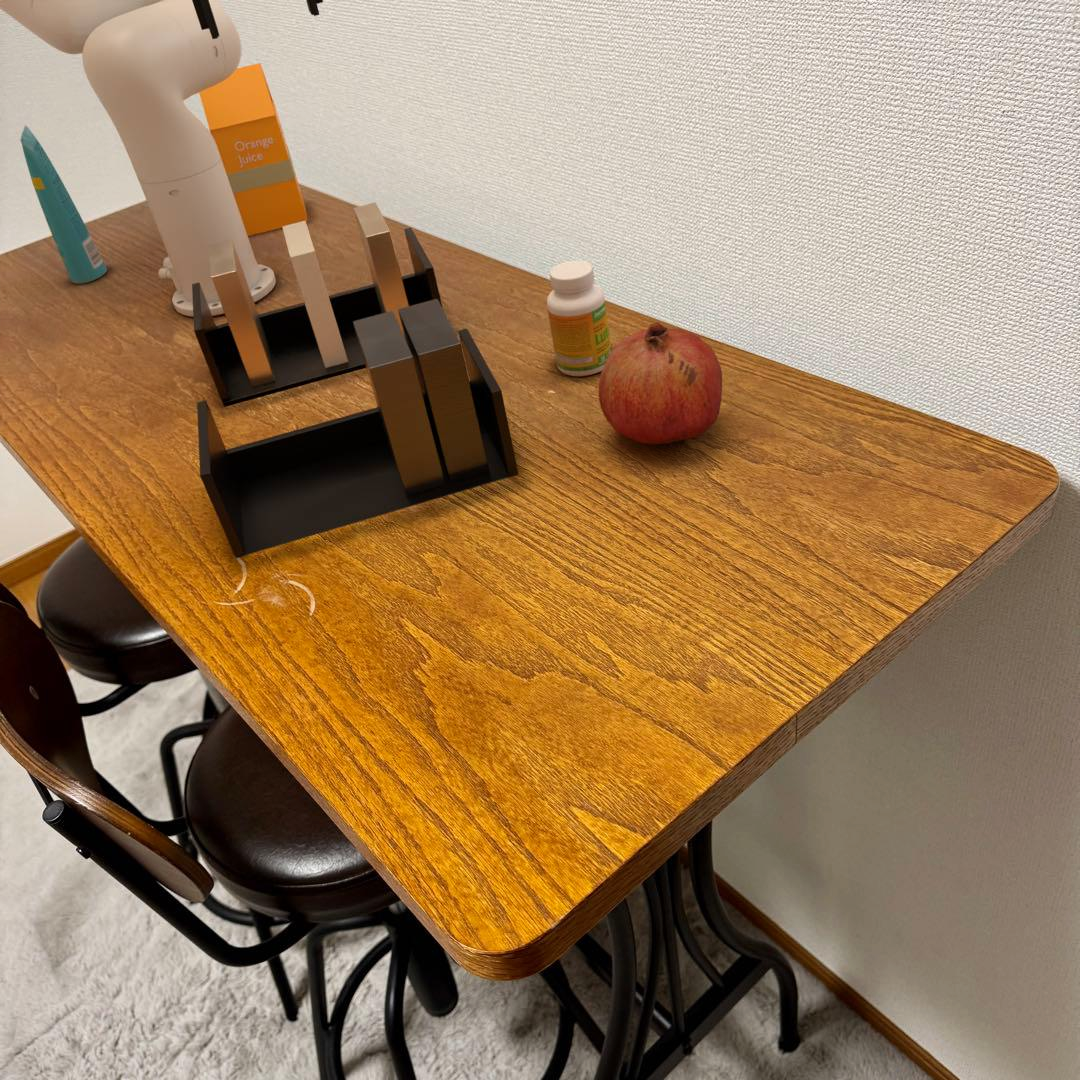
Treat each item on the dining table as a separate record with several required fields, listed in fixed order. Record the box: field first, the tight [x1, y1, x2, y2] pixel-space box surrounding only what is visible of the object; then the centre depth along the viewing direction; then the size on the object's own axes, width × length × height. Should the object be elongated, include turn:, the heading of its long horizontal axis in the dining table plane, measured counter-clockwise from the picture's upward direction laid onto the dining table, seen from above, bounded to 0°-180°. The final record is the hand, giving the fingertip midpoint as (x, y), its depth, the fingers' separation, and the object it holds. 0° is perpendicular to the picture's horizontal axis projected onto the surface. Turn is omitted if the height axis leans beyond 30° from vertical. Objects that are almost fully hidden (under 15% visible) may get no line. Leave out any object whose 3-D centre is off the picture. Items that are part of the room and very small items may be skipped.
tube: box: [19, 125, 108, 284], centre depth 135 cm, size 7×5×19 cm, turn 23°
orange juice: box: [198, 62, 309, 237], centre depth 141 cm, size 8×9×20 cm
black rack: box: [196, 299, 519, 559], centre depth 86 cm, size 24×12×13 cm, turn 106°
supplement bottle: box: [546, 260, 612, 377], centre depth 98 cm, size 5×5×10 cm
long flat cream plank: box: [281, 221, 348, 368], centre depth 106 cm, size 2×9×12 cm, turn 16°
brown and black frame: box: [192, 202, 444, 408], centre depth 107 cm, size 24×12×13 cm, turn 106°
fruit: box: [598, 321, 723, 445], centre depth 86 cm, size 11×10×10 cm
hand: (265, 24), depth 100 cm, fingers open, 9 cm apart
